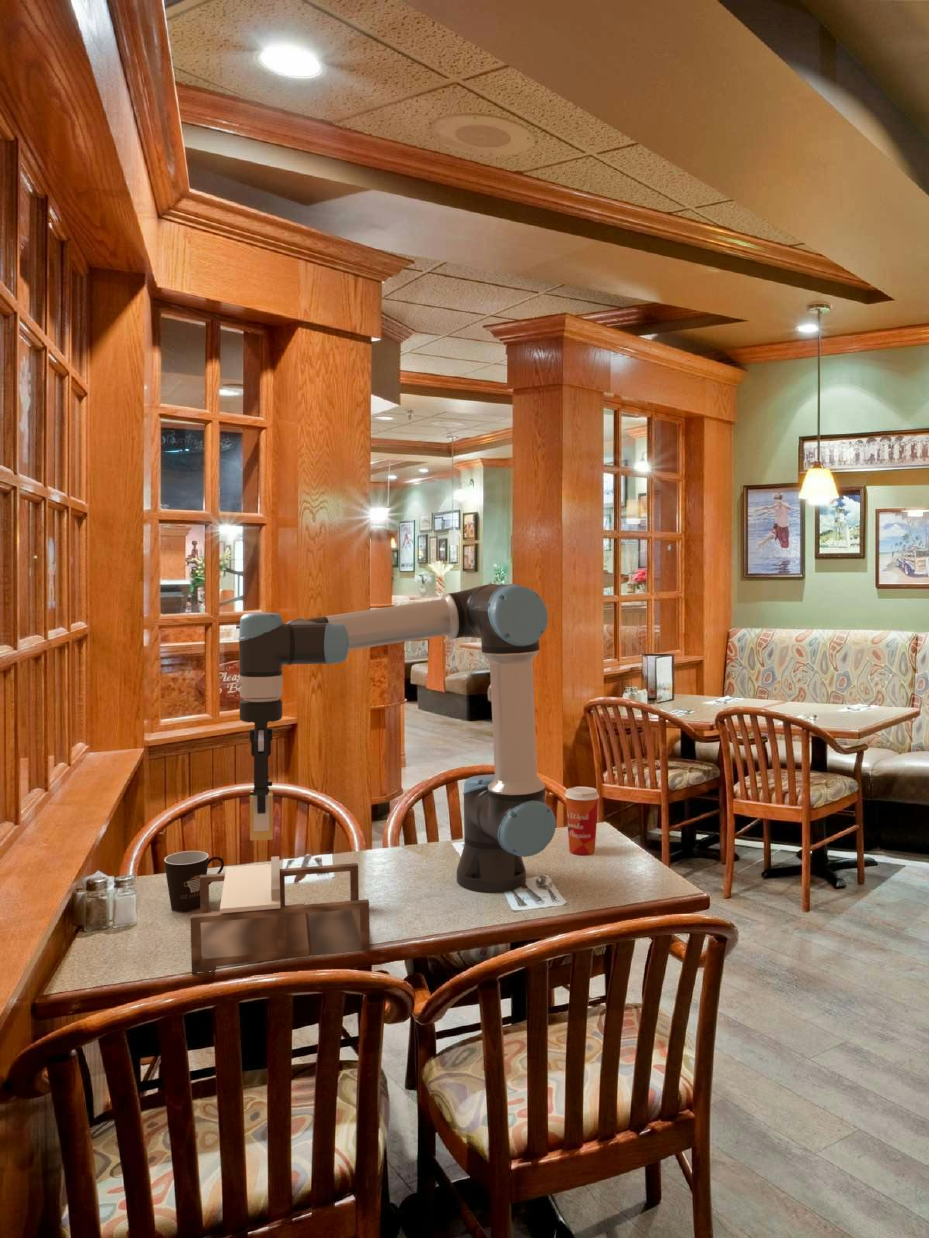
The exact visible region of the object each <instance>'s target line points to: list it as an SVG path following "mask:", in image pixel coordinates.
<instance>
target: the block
mask: <svg viewBox="0 0 929 1238" xmlns="http://www.w3.org/2000/svg"><path fill="white" fill-rule="evenodd" d="M250 792H253V790H250V791H249V793H250ZM273 793H274V792H273V789H269V830H267V831H254V796H250V795H249V841H268V840H269V841H270V840H274V824H273V823H274V821H273V820H274V807H273V805H274V802H273V801H274V797H273V796H274V794H273Z"/></svg>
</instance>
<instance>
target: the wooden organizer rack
mask: <svg viewBox="0 0 929 1238" xmlns="http://www.w3.org/2000/svg"><path fill="white" fill-rule="evenodd" d="M279 870H280V908H278V909H266V910H255V911H243V912H231V913H220V910H215V911H210V885H209V882H212V883H218V882H224V879H225V872H221V873H220V874H217V873H213V874H210V873H209V874H208V873H207V875H200V906H201V908H200V913H194V914H192V913H191V914H190V917H189V919H190V920H189V921H190V953H191V961H190V962H191V963H190V964H191V974H192V975H194V974H193V973H197V972H209V971H215V972H216V969H217V966H221V965H223V966H224V965H232V964H240V963H241V964H242V963H253V962H262V961H263V962H264V961H271V960H272V961H273V960H282V959H291V958H292V959H294V958H302V957H305V958H306V957H315V956H323V955H333V954H335V955H336V954H346V953H355V952H363V951H365V952H366V951H370V949H371V947H370V946H371V944H370V943H371V940H370V939H371V938H370V937H371V936H370V932H371V931H370V902H369V901H370V900H369V898H367V899H360V898H359V897H360V893H359V889H360V888H359V887H360V886H359V863H358V862H353V863H341V864H327V865H325V864H324V865H314V866H303V867H302V866H301V867H289V868H287V867H286V868H279ZM343 872H349V878H350V879H349V885H350V886H349V889H350V894H349V895H350V896H349V898H350V900H346V901H345V900H343V901H333V902H331V901H330V902H320V903H309V904H305V903H297V904H286V892H285V891H286V889H285V887H286V885H285V883H286V882H285V881H286V880H285V879H286V878H285V877H291V876H293V877H294V876H304V875H316V874H330V873H343ZM209 973H210V972H209Z"/></svg>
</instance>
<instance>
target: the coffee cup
mask: <svg viewBox="0 0 929 1238" xmlns="http://www.w3.org/2000/svg"><path fill="white" fill-rule="evenodd" d="M564 797H565V800H566V815H567V817H566V818H567V819H566V820H567V831H568V832H567V834H568V835H567V837H568V847H569V848H568V849H569V852H570V854H572V855H575V856H582V857H585V856H591V855H594V854H595V850H596V839H597V837H596V836H597V821H598V820H597V818H598V807H599V806H598V803H599V802H598V801H599V799H600V794H599V793H598V789H597V788H595V787H589V786H574V787H569V788H567V789H566V791H565V793H564Z"/></svg>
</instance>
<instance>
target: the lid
mask: <svg viewBox="0 0 929 1238" xmlns="http://www.w3.org/2000/svg"><path fill="white" fill-rule="evenodd" d="M270 860H271V861H270V864H269V863H268V864H267V863H265V864H255V865H244V866H243V865H242V866H229V867H227V866H226V868H225V872H224V873H225V879H224V881H223V887H222V892H221V900H220V906H219V911H220V913H231V912H243V911H255V910H266V909H278V908H280V870H279V869H280V855H278V856H271V857H270Z"/></svg>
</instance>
